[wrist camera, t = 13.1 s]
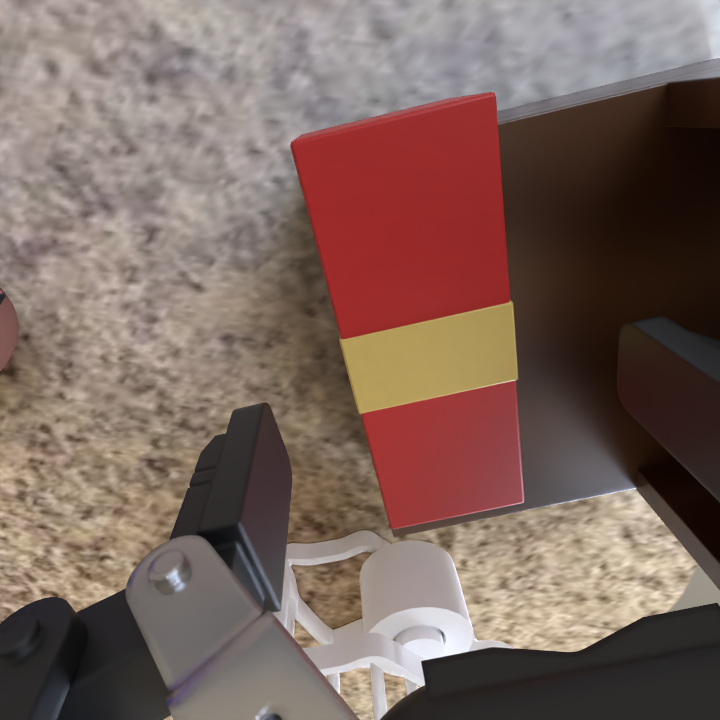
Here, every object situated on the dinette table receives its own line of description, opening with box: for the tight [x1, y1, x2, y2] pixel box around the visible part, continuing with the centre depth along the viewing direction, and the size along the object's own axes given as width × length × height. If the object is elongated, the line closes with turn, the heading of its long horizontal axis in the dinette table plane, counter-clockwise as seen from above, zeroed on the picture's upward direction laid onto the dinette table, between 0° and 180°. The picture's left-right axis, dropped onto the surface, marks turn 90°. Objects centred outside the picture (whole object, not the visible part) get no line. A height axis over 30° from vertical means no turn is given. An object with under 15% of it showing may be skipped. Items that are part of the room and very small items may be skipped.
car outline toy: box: [273, 530, 513, 720], centre depth 29 cm, size 20×11×7 cm, turn 29°
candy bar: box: [291, 92, 524, 529], centre depth 14 cm, size 12×5×4 cm, turn 12°
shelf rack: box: [392, 58, 720, 590], centre depth 14 cm, size 16×16×17 cm
